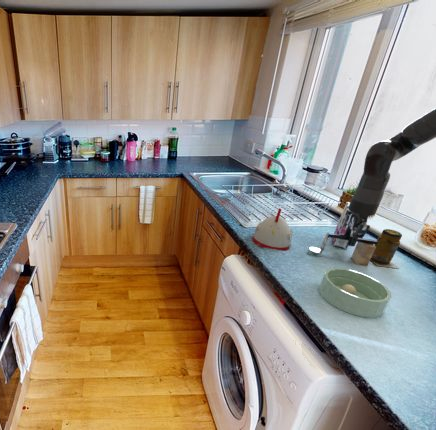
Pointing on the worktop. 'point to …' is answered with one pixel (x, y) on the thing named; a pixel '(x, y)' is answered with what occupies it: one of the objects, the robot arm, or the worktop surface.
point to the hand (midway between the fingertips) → (348, 242)
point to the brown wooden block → (363, 253)
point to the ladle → (317, 252)
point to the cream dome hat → (273, 233)
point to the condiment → (386, 248)
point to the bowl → (365, 292)
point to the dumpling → (349, 289)
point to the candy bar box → (341, 229)
